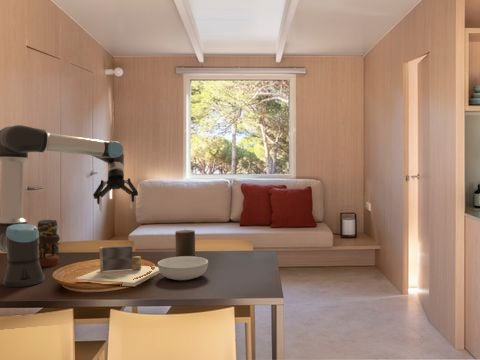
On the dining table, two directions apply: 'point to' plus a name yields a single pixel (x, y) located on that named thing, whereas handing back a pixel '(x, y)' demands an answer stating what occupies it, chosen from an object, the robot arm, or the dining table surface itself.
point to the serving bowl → (182, 267)
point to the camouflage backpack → (53, 230)
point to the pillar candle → (185, 243)
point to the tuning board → (121, 276)
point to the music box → (48, 247)
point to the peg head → (118, 259)
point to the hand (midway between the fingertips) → (115, 208)
